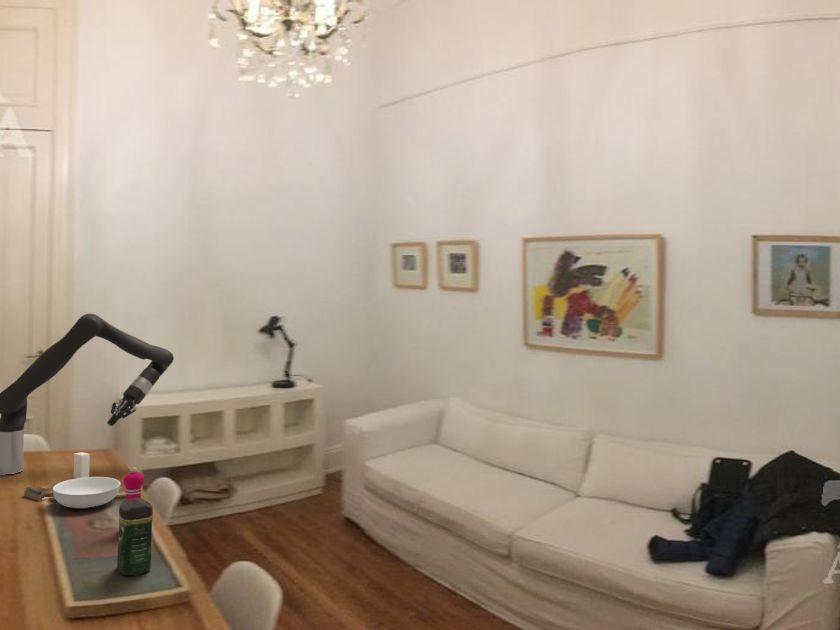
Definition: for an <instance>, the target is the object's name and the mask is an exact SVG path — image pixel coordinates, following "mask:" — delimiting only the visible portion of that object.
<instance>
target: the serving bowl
mask: <svg viewBox="0 0 840 630" xmlns="http://www.w3.org/2000/svg"><path fill="white" fill-rule="evenodd" d="M57 483H58V484H56V485H55V486H54V487H53V494H54V497H55V498H54V499H55V500H56V501H57V503H58V504H59V505H62V506H64V507H67V508H72V509H90V508H89V507H92V508H95V506H96V507H100V506H102V505H106V504H107V503H110V501H112V500H113V499H115V498H116V497H117V495H118V493H119V491H120V488H121V482H120V480H118V479H116V478H113V477H106V476H92V477H84V478H77V479H71V478H70V479H67V480H64V481H60V483H59V482H57Z"/></svg>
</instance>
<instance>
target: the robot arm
mask: <svg viewBox="0 0 840 630" xmlns="http://www.w3.org/2000/svg"><path fill="white" fill-rule="evenodd" d="M95 337H98V338H101V339H104V340H105V341H108V342H109V343H111V344H113V345H115V347H118V348H119V349H121V350H122V351H124V352H125V353H127V354H129V355H131V356H134V357H135V358H138V359H140V360H150V363H149V364H148V365H147V366H146V367H145V368H144V369H143V371H142V370H141V373H140V374H139V375H138V376H137V377H136V378H135V379H134V380H132V382H131V383H130V384H129V386H128V387H127V388H126V389H125V391H124V392H123V394H122V398H121V399H120V400H119V402H113V403H112V405H111V411H110V414H112V415H111V417H110V418H109V419H108V421H107V422H106V423H107V425H108V426H110V427H114V426H115V424H116V423H117V422H118V421H119V420H121V419H125V418H127V417H128V416H130V415H132V414H134V413H135V412H136V411H137V409H136V405H140V404H141V403H142V401H143V400H144V399H145V398H146V397H147V395H148V394H149V393H150V392H151V389H153V387H155V385H156V383H157V382H158V380H159V379H160V378H161V376H162V375H163V374H164V373H165V372H166V370H168V368H169V367H170V366H171V365H172V364H173V362H174V354H173V353H172V352H171V351H170V350H169V349H166V348H164V347H161V346H157V345H152V344H150V343H148V342H146V341H144V340H142V339H139V338H137V337H135V336H133V335H131V334H129V333H127V332H124V331H123V330H121V329H119V328H117V327H116V326H113V324H111V323H109V322H108V321H106V320H105V319H103V318H102V317H100V316H99V315H98V314H95V313H86V314H83V315H81V317H79V318H78V319H77V320H76V322H75V323H74V325H72V327H70V329H69V330H68V331H67V333H65V335H64V336H62V337H61V339H59V340H58V341H56V342H55V343H54V344H52V345H51V346H49V347H48V348H47V349H46V350H45V351H44V352H42V353H41V354H40V355H39V356H38V357H37V358H36V360H34V361H33V362H32V363H31V364H30V365H29V366H28V368H27V369H26V370H25V371H24V372H23V373H22V374H21V375H20V376H19V377H18V378H16V380H15V381H14V382H12V383H11V384H10V385H8V387H6V388H5V389H3V390H2V391H1V392H0V414H1V415H0V476H6V475H5V474H12V473H18V472H21V471H23V472H24V443H25V442H24V440H25V436H24V435H25V423H26V421H27V414H28V413H27V412H28V397H29V396H30V394H32V393H33V392H34V391H35V390H37V389H38V388H39V387H41V386H42V385H45V383H47V382H49V380H51V379H53V378H54V377H55V376H56V375H57V374H58V373H60V371H62V370H63V368H65V366H66V365H67V364H68V363H69V362H70V361H71V359H72V358H73V357H74V355H75V354H76V353H77V352H78V351H79V350H80V349H81V348H83V346H85V345H86V344H87V343H88V342H89V341H90V340H93V338H95ZM21 473H22V472H21ZM18 474H19V473H18Z"/></svg>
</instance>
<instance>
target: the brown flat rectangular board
mask: <svg viewBox="0 0 840 630" xmlns="http://www.w3.org/2000/svg"><path fill="white" fill-rule="evenodd" d="M89 477H93V476H92V475H89ZM60 482H61V481H60ZM60 482H56V483H51V484H47V485H42V486H38V487H30V486H26V488H25V490H24V493H23V496H24V497H25V498H29V499H30V500H35V501H37V502H43V501H42V498H44V497H54V494H53V487H54V486H55V485H56V484H58V483H60Z"/></svg>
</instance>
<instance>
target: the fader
mask: <svg viewBox="0 0 840 630" xmlns="http://www.w3.org/2000/svg"><path fill="white" fill-rule="evenodd" d="M90 457H91V455H90V453H87V452H83V451H81V452H76V453H73V476H72V477H70V480H71V479H77V478H84V477H89V476H90V463H91V462H90V461H91V460H90V459H91V458H90Z"/></svg>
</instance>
